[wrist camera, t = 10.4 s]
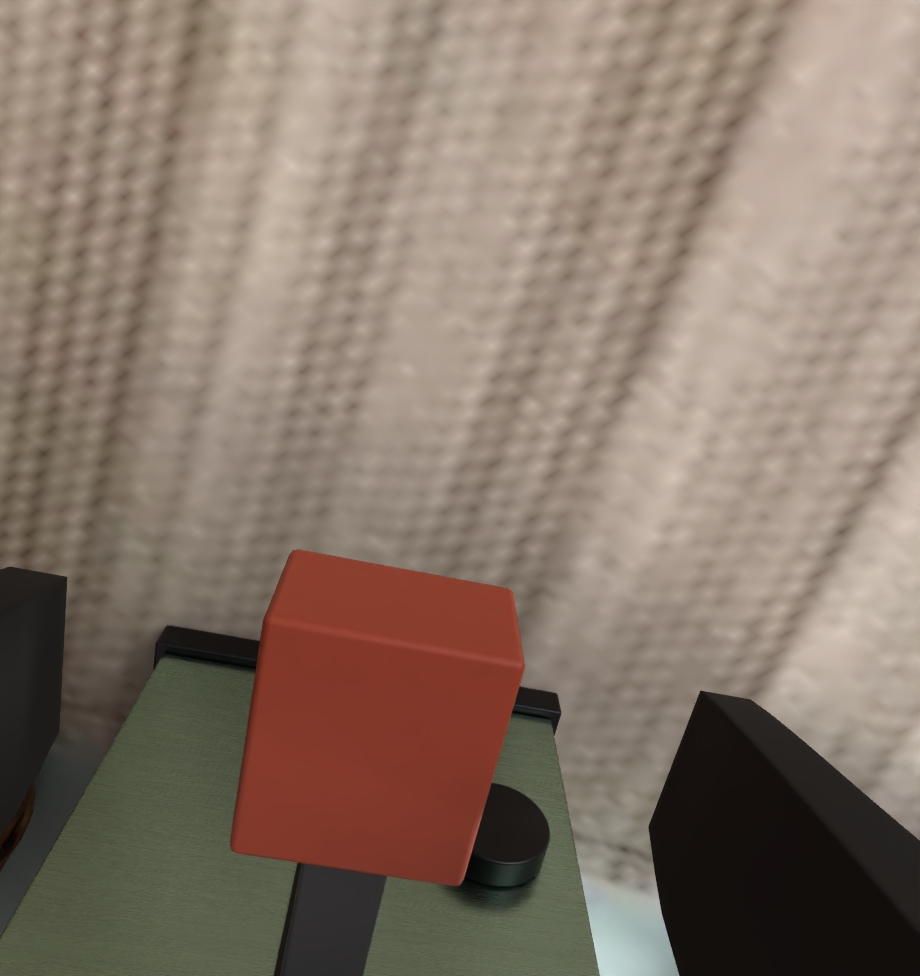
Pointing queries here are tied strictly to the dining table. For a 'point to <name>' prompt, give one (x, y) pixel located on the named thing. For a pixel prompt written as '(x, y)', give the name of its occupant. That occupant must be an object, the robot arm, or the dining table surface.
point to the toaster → (271, 882)
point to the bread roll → (16, 827)
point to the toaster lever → (371, 740)
